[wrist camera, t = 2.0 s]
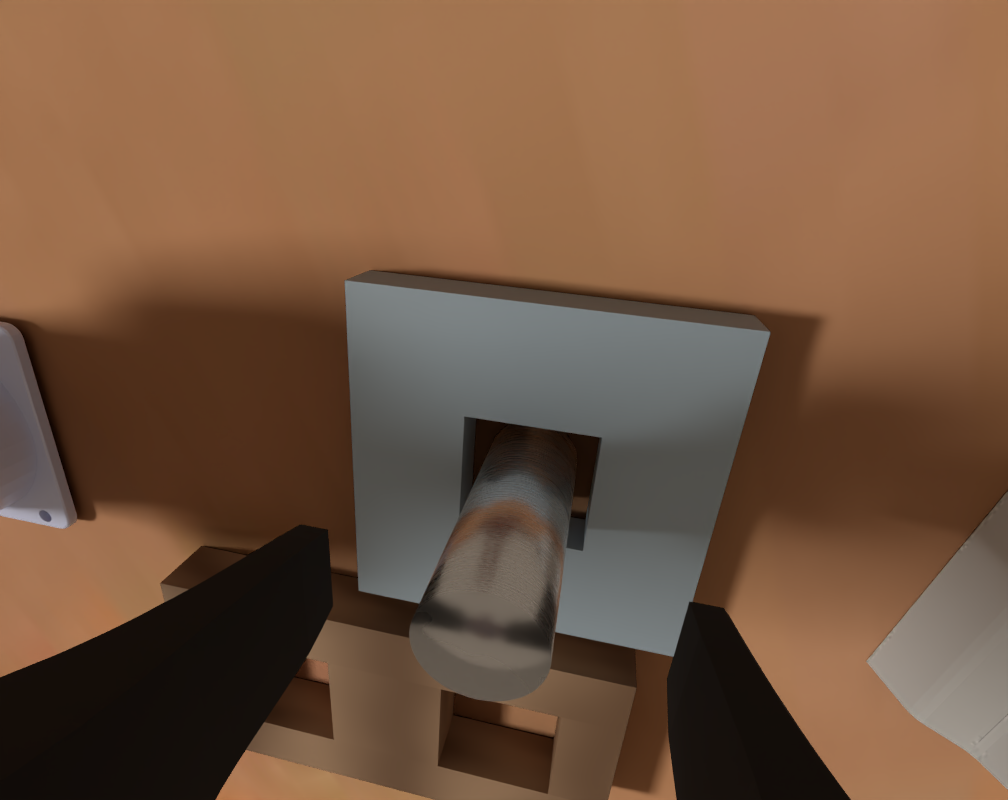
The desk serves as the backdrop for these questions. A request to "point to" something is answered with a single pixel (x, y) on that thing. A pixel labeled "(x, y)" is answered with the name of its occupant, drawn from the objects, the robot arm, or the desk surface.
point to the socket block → (555, 406)
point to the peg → (501, 571)
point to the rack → (437, 708)
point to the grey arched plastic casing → (959, 648)
